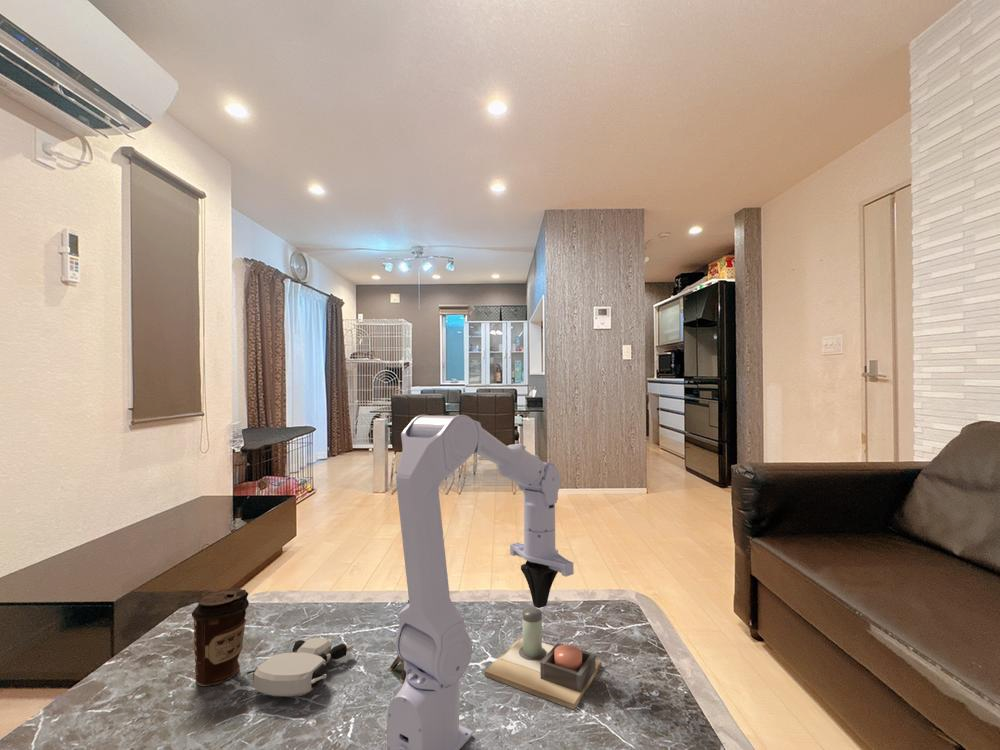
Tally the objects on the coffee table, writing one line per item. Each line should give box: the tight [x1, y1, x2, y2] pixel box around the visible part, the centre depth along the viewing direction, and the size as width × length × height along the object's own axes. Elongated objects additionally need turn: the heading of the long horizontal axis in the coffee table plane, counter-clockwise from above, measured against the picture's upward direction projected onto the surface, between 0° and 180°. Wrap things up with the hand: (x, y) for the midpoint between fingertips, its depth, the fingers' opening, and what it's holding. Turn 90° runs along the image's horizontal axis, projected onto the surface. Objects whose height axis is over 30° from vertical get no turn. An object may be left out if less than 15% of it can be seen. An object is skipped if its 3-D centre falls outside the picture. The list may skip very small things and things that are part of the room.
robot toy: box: [240, 637, 354, 697], centre depth 72 cm, size 12×4×15 cm
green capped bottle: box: [522, 607, 543, 658], centre depth 78 cm, size 4×4×7 cm
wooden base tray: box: [484, 636, 602, 710], centre depth 74 cm, size 13×16×3 cm
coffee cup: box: [191, 587, 250, 687], centre depth 73 cm, size 9×8×13 cm
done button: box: [554, 644, 582, 672], centre depth 72 cm, size 5×5×2 cm
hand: (540, 605), depth 77 cm, fingers closed
